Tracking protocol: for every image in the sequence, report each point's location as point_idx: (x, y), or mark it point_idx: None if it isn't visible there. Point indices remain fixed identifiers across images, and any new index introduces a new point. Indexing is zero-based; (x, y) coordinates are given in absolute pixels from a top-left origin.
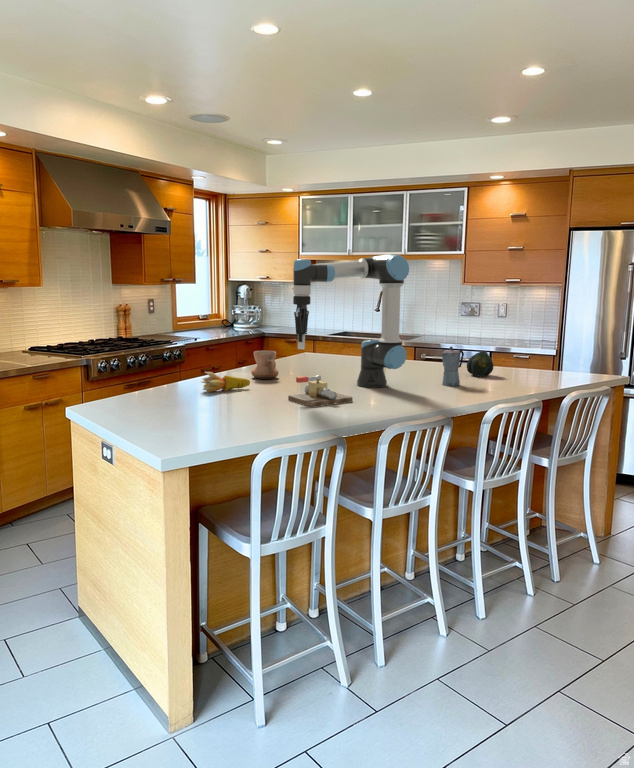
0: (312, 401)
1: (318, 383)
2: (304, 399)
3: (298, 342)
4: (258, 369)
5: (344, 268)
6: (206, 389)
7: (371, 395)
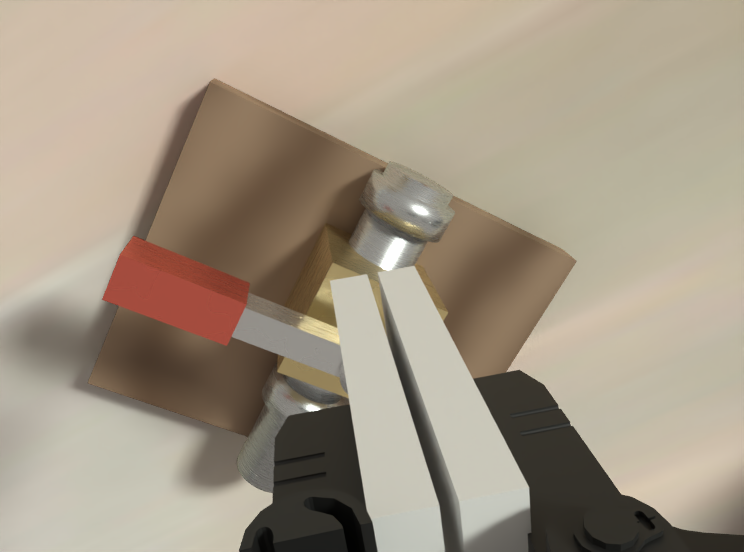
0: (123, 367)
1: (309, 374)
2: None
3: (346, 370)
4: None
5: None
6: None
7: (661, 477)
